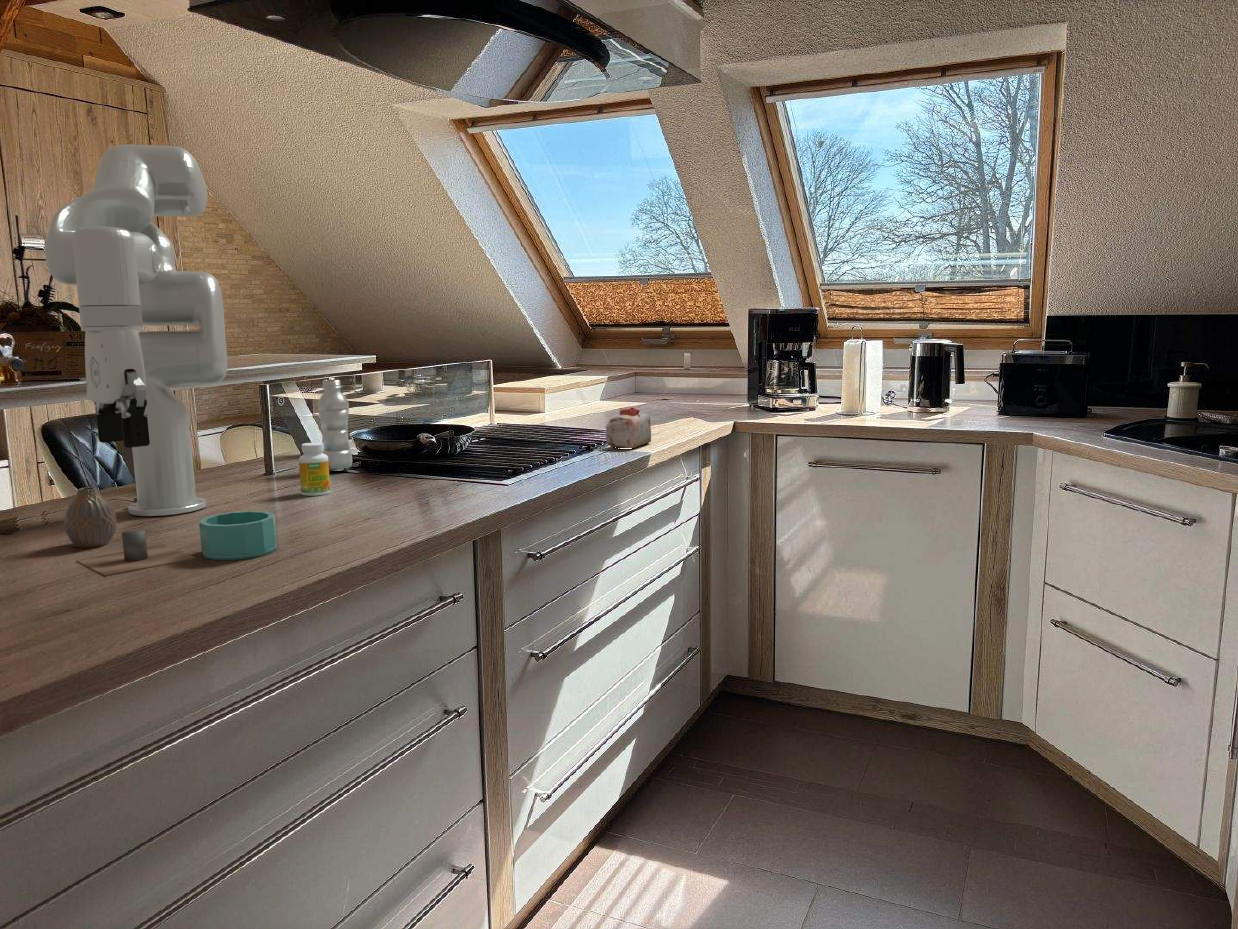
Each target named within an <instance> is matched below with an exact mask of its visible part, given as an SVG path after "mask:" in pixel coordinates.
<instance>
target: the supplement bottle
mask: <svg viewBox="0 0 1238 929" xmlns="http://www.w3.org/2000/svg"><path fill="white" fill-rule="evenodd" d="M323 451H324V446H323V443H322V442H305V443H302V444H301V452H302V453H303V454H302V455H300V456H299V458H298V467H299V479H300V480H299V482H300V493H301V495H302V496H308V497H318V496H319V495H320V496H325V495H328V494H330V493H331V481H330V471H329V464H328V456H327V455H325V454H323ZM329 492H330V493H329Z"/></svg>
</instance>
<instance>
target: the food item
mask: <svg viewBox="0 0 1238 929" xmlns="http://www.w3.org/2000/svg"><path fill="white" fill-rule="evenodd" d="M651 421H652V419H651V414H649V413H648V412H645V411H641V410H639V409H636V408H634V407H630V408H621V407H620V408H619V415H618V416H617V415H616V416H615V417H612V418H611V419H609V420H608V422H607V424H606V425H605V429H606V431H605V438H606V439H605V441H606V443H607V446H609V447H610V448H611V447H616V448H634V449H636V448H638V446H639V447H641V445H642V446H645V445H647V444H646V443H648V444H650V443H651V441H652V429H651V428H652V426H651ZM649 442H650V443H649ZM644 444H645V445H644Z"/></svg>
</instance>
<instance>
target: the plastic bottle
mask: <svg viewBox="0 0 1238 929" xmlns="http://www.w3.org/2000/svg"><path fill="white" fill-rule="evenodd" d="M341 389H342V383H341V379H325V380H322V390H324V391H323V393H322V395H321V396H320V398H319V400H318V401H317V402H318V403H317V410H318V415H319V419H320V420H319V421H320V427H321V435H322V436H321V437H322V438H321V443H323V446H324V451H323V454H325V455H327V456H328V464H329V470H337V469H344V468H349V467H350V468H352V464H353V456H352V451H351V449H350V440H349V435H348V434H349V430H348V429H349V424H348V423H349V422H348V421H349V411H350V410H349V408H350V403H349V400H348V399H347V398H346V396H345V394H343V392H341Z"/></svg>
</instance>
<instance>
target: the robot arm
mask: <svg viewBox="0 0 1238 929" xmlns="http://www.w3.org/2000/svg"><path fill="white" fill-rule="evenodd" d="M97 167H98V168H97V173H96V176H95V181H94V182H95V184H94V188H93V190H92V191H89V192H88V193H85V194H83V195H80V197H77V198H76V199H73V200H72V201H69V202H68V203H66V204H64V205H63V206H62V207H61V208H59V209H58V210H57V211H56V212H55V213H54V215H53V217H52V219H51V221H50V224H49V229H48V231H47V232H48V233H47V235H46V236H47V237H46V241H45V248H44V250H45V252H44V253H45V254H44V256H45V257H44V258H45V262H46V263H45V264H46V266H47V270H48V272H49V274H50V275H51V276H52V277H53V279H55V280H57V281H58V282H59V283H61V284H64V285H68V286H76V289H77V290H76V291H77V300H78V312H79V320H80V321H79V322H80V330H81V332H85V334H84V335H85V336H84V363H85V367H84V368H85V384H86V396H87V398H88V400H89V401H91V403H92V402H93V403H95V405H94V406H95V407H94V409H95V414H96V416H95V417H96V418H95V419H96V426H97V435H98V441H99V443H112V442H123V447H124V448H126V449H128V448H132V449H131V451H132V460H133V461H132V462H133V468H134V469H133V471H134V478H135V479H134V480H135V490H136V498H137V500H136V501H137V502H135V503H132V504H129V506H128V508H127V509H128V510H127V511H128V513H129V515H133V516H136V517H137V516H140V517H158V516H159V517H161V516H163V517H164V516H171V515H181V514H185V513H186V514H187V513H190V512H195V511H198V510H201V509H203V508H205V507H206V506H207V501H206V499H205V498H203V497H199V496H197V493H196V484H195V473H194V472H195V471H194V459H193V458H194V457H193V451H192V449H193V448H192V440H191V438H192V437H191V426H190V414H189V411H188V408H187V406H186V405H185V403H184V402H183V400H181V399H180V398H179V396H177V395H176V394H175V392H173V391H172V390H171V387H177V386H200V385H213V384H218V383H221V382H222V381H223V380H224V379H225V377H226V376H227V374H228V373H227V372H228V350H227V339H226V336H227V335H226V325H225V322H226V321H225V311H224V300H223V294H222V289H221V286H220V284H219V281H218V280H217V278H216V277H215V276H214V275H212V273H209V272H206V271H202V270H201V271H200V270H176V264H175V262H176V261H175V249H174V245H173V243H172V242H171V240H170V239H169V238H168V236H167V235H166V234H165V233H164V232H163V231H162V230H161V229H160V228H159V227H158V226H157V225H156V224H154V223H153V222H152V220H153V218H154V217H170V218H171V217H174V218H175V217H176V218H177V217H178V218H179V217H180V218H185V217H186V218H189V217H190V218H191V217H198V216H200V215H203V213H204V212H205V210H206V207H207V204H208V189H207V184H206V180H205V179H204V176H203V173H202V171H201V168H200V165H199V164H198V162H197V160H196V158H195V157H194V156H193V155H192V153H190V152H189V151H188V150H187V149H185V148H184V147H181V146H177V145H175V146H174V145H156V144H155V145H154V144H153V145H152V144H134V143H131V144H117V145H114V146H111V147H109V148H108V149H106V150H105V151H104V152H103V153H102V155H101V157H100V160H99V163H98V166H97ZM144 326H153V327H154V326H155V327H156V326H158V327H159V326H160V327H162V326H163V327H167V326H168V327H169V326H194V327H195V328H197V330H175V331H174V330H157V331H155V330H153V331H152V330H151V331H143V330H144ZM120 409H121V412H119V411H120Z"/></svg>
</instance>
